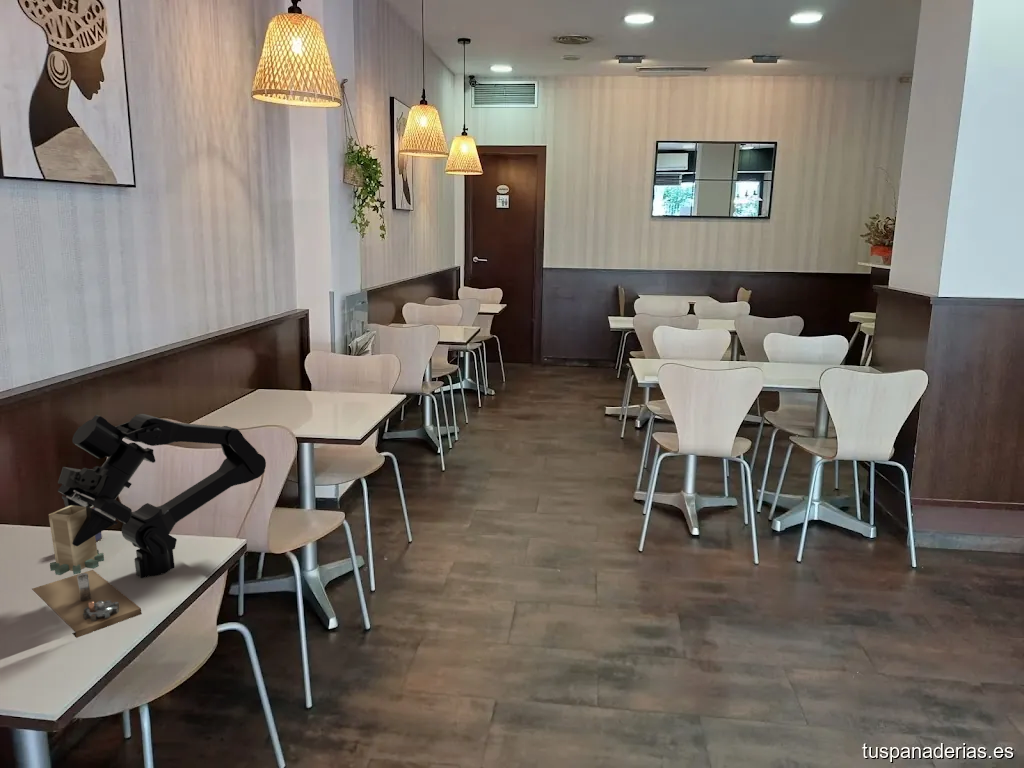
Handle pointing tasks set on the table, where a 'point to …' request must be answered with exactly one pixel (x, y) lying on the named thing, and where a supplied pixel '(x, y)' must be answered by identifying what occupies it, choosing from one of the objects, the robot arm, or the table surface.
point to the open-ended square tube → (63, 535)
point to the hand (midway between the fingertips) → (66, 541)
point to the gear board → (85, 602)
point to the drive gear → (100, 610)
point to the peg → (84, 587)
